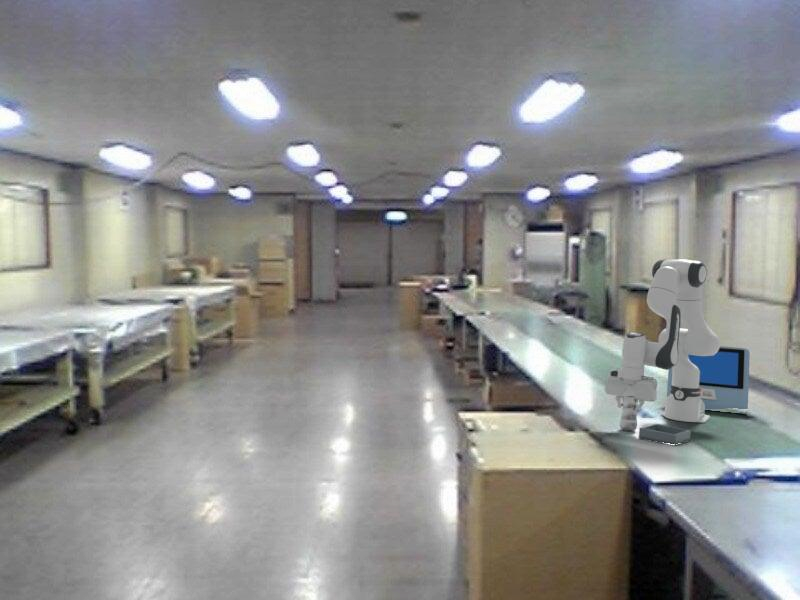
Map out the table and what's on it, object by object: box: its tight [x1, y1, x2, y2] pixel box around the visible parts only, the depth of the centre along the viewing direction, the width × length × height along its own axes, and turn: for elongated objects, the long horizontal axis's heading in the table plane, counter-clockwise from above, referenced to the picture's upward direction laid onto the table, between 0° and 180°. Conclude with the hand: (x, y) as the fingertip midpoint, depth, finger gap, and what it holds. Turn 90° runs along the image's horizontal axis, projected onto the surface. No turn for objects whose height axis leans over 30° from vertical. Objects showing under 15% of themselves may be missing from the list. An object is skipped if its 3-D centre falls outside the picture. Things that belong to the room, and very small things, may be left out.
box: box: [638, 423, 692, 445], centre depth 298 cm, size 14×14×4 cm
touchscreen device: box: [666, 345, 750, 409], centre depth 373 cm, size 35×20×30 cm, turn 73°
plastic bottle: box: [619, 384, 639, 432], centre depth 310 cm, size 6×7×20 cm
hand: (629, 409), depth 310 cm, fingers open, 6 cm apart
